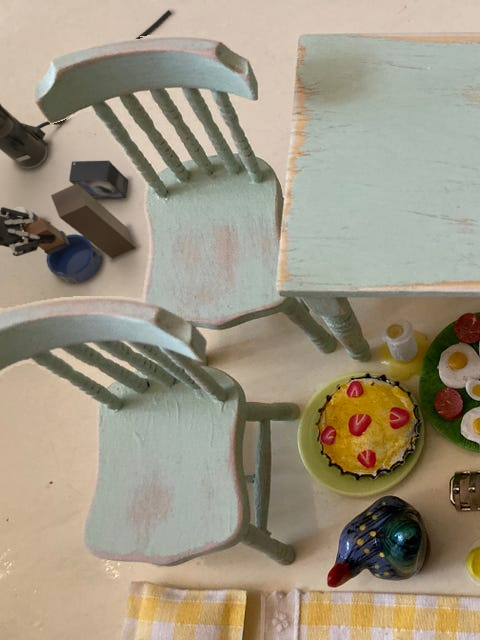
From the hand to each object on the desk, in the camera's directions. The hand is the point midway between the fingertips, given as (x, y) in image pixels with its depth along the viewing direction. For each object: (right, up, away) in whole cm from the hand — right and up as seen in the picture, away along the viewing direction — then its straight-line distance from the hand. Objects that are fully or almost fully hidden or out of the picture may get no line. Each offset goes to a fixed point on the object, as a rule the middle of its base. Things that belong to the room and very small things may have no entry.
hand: (52, 232), depth 176 cm
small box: (+4, +16, +20) cm, 26 cm away
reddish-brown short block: (-2, -2, +5) cm, 5 cm away
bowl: (-1, -6, +14) cm, 15 cm away
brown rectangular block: (+9, 0, +15) cm, 18 cm away
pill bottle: (-15, +5, +18) cm, 23 cm away
